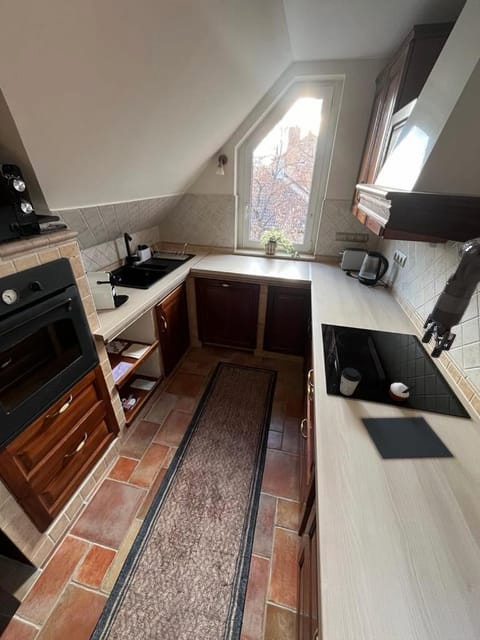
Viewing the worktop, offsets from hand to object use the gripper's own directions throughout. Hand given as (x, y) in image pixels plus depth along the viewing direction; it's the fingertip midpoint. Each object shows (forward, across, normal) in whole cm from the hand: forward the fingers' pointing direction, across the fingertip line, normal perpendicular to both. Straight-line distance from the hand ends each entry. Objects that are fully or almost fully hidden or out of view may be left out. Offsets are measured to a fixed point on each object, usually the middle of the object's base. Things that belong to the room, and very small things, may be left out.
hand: (429, 349), depth 86 cm
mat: (+23, -19, +6) cm, 30 cm away
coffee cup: (+23, -3, +22) cm, 32 cm away
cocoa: (+23, -2, +4) cm, 23 cm away
